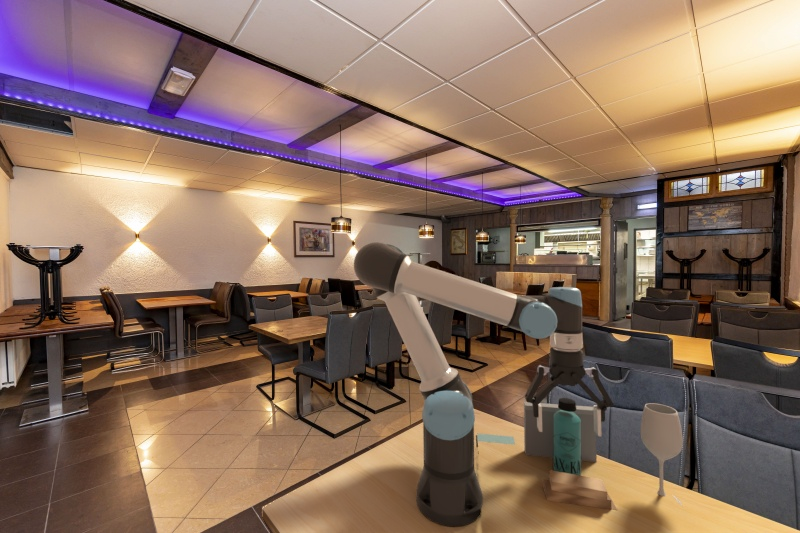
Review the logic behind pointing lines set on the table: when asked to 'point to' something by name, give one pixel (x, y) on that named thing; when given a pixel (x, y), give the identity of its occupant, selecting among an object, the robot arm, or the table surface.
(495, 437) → the mat
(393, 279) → the robot arm
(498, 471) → the table surface
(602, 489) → the offcut top
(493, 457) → the table surface
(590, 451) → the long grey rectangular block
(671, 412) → the wineglass
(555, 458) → the beverage bottle
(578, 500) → the offcut middle
